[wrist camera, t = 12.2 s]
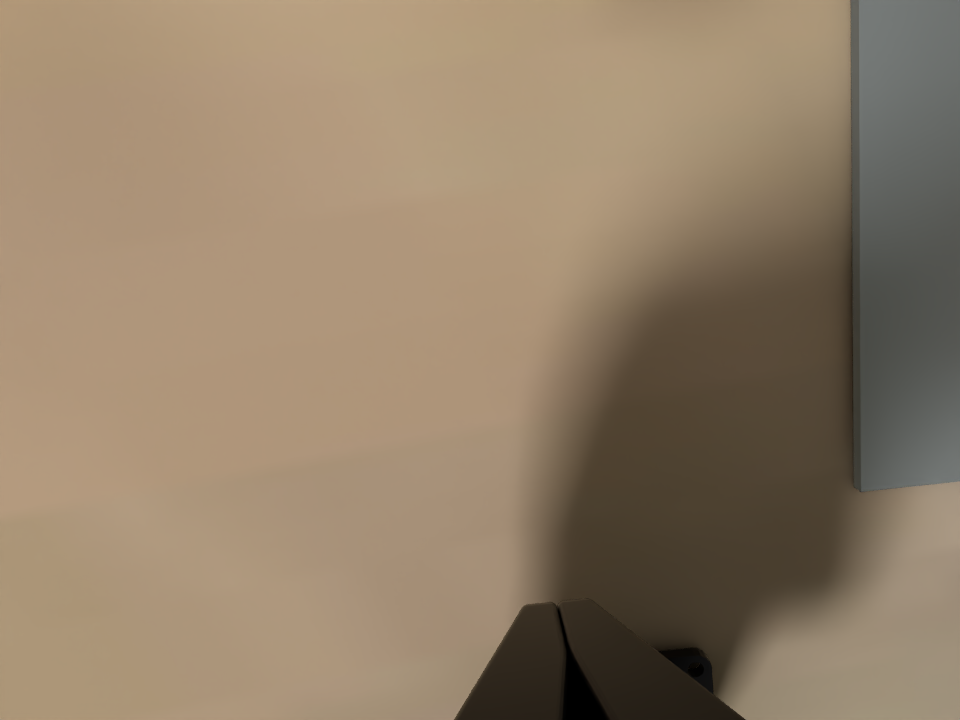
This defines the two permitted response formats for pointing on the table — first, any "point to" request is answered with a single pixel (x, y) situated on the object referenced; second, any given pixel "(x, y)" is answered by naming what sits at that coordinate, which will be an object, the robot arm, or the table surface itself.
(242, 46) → the table surface
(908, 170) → the slate mat
